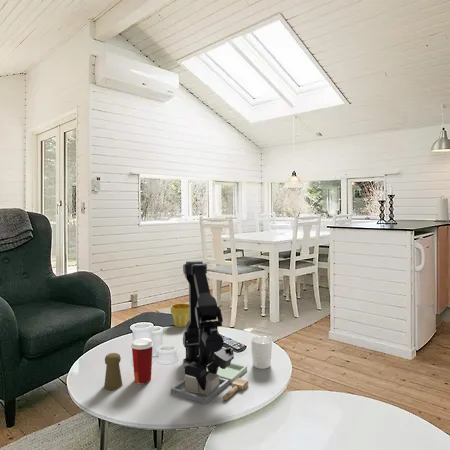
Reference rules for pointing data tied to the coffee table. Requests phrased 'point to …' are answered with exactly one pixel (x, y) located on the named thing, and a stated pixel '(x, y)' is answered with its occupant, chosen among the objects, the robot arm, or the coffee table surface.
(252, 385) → the coffee table surface
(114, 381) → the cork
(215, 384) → the beige cube
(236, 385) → the wooden mallet
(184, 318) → the plant pot
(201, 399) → the bin
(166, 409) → the coffee table surface
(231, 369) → the bin
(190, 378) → the beige cube
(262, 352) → the white cup
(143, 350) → the paper cup
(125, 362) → the coffee table surface
